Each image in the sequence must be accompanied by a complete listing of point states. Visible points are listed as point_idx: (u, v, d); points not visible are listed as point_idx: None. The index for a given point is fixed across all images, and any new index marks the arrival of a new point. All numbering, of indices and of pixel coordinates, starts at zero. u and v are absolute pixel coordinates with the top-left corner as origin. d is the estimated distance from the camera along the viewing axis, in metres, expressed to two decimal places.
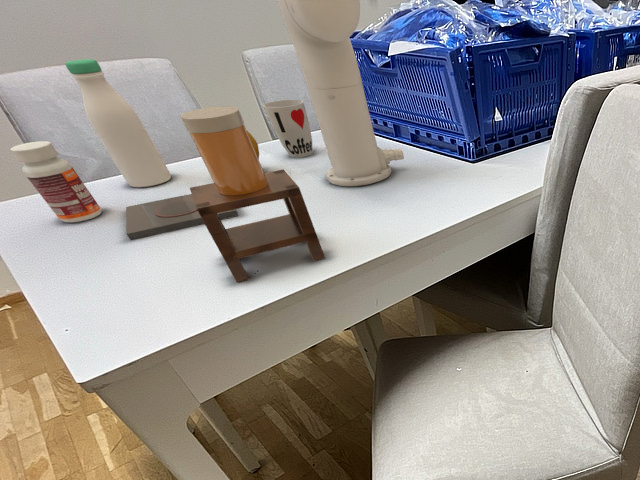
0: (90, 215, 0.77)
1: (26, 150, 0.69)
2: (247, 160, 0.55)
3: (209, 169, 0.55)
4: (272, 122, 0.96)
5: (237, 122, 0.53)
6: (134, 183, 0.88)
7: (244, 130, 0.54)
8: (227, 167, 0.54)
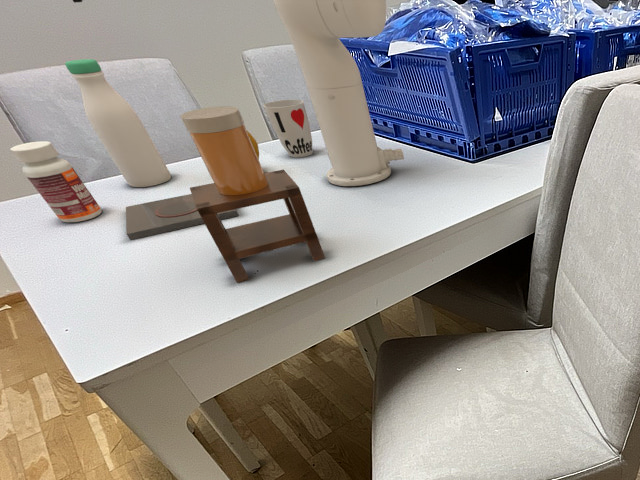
0: (90, 215, 0.77)
1: (26, 150, 0.69)
2: (247, 160, 0.55)
3: (209, 169, 0.55)
4: (272, 122, 0.96)
5: (237, 122, 0.53)
6: (134, 183, 0.88)
7: (244, 130, 0.54)
8: (227, 167, 0.54)
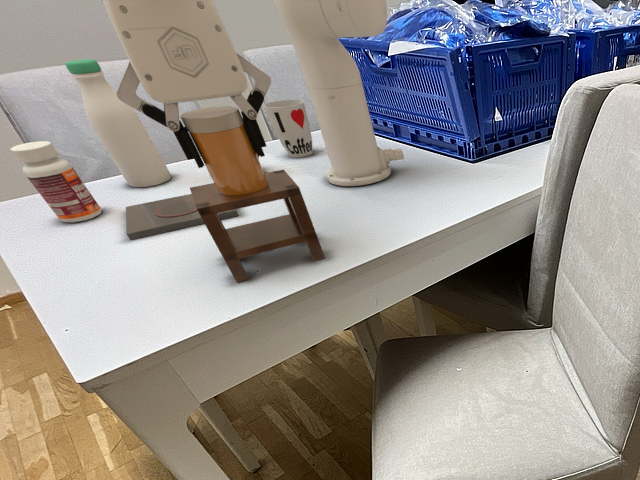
0: (90, 215, 0.77)
1: (26, 150, 0.69)
2: (247, 160, 0.55)
3: (209, 169, 0.55)
4: (272, 122, 0.96)
5: (237, 122, 0.53)
6: (134, 183, 0.88)
7: (244, 130, 0.54)
8: (227, 167, 0.54)
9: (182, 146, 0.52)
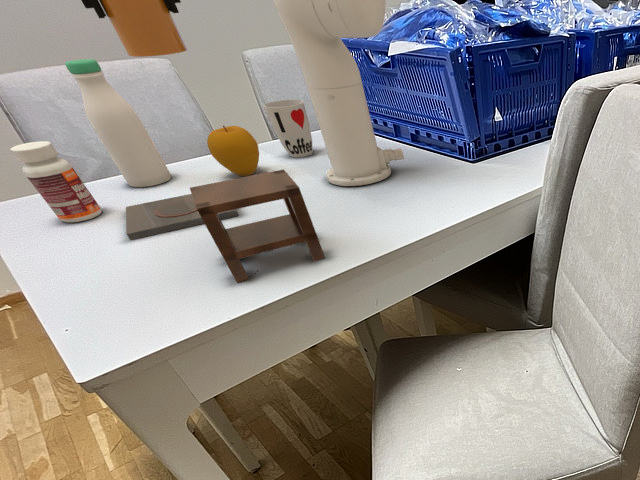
0: (90, 215, 0.77)
1: (26, 150, 0.69)
2: (157, 12, 0.49)
3: (112, 22, 0.48)
4: (272, 122, 0.96)
5: None
6: (134, 183, 0.88)
7: None
8: (132, 17, 0.48)
9: None
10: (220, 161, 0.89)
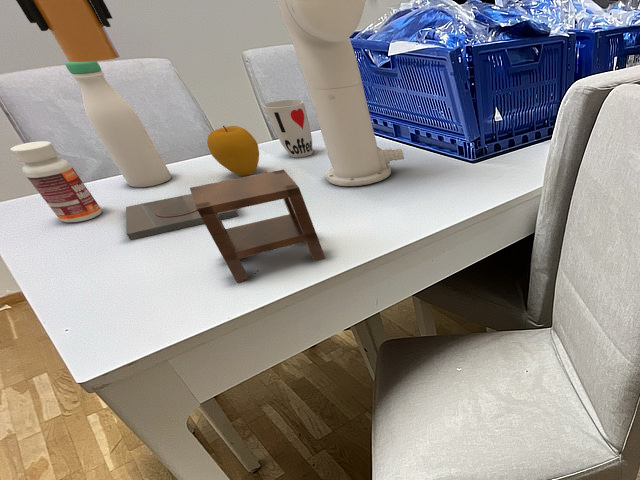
0: (90, 215, 0.77)
1: (26, 150, 0.69)
2: (90, 26, 0.60)
3: (53, 34, 0.59)
4: (272, 122, 0.96)
5: None
6: (134, 183, 0.88)
7: None
8: (68, 30, 0.59)
9: (22, 7, 0.57)
10: (220, 161, 0.89)
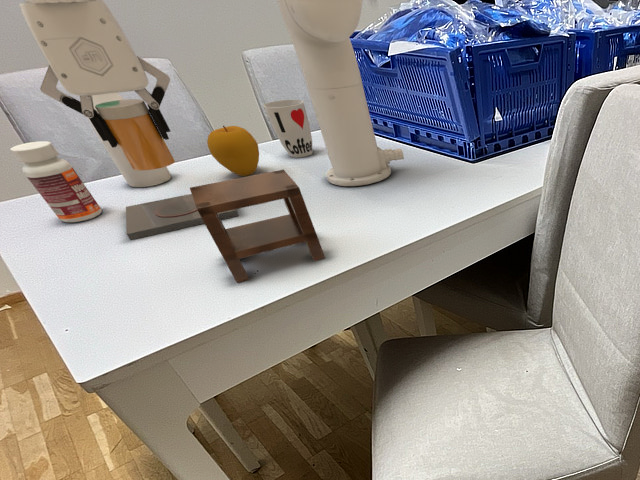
0: (90, 215, 0.77)
1: (26, 150, 0.69)
2: (152, 142, 0.69)
3: (121, 149, 0.69)
4: (272, 122, 0.96)
5: (141, 111, 0.67)
6: (134, 183, 0.88)
7: (149, 118, 0.69)
8: (135, 147, 0.68)
9: (97, 130, 0.67)
10: (220, 161, 0.89)
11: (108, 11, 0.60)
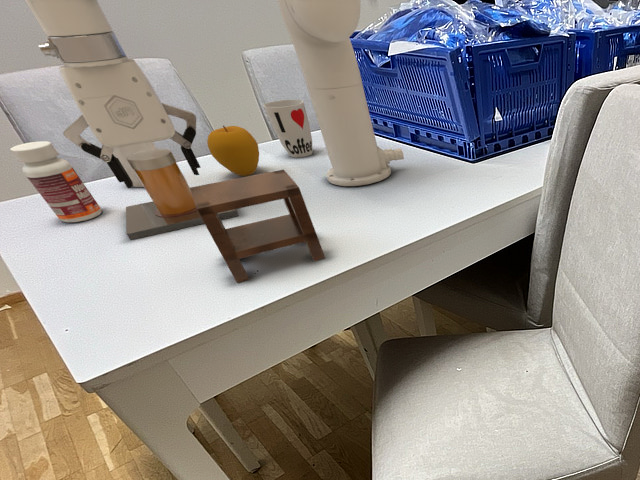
0: (90, 215, 0.77)
1: (26, 150, 0.69)
2: (179, 188, 0.74)
3: (150, 195, 0.74)
4: (272, 122, 0.96)
5: (169, 161, 0.72)
6: (134, 183, 0.88)
7: (175, 167, 0.73)
8: (163, 194, 0.73)
9: (114, 172, 0.70)
10: (220, 161, 0.89)
11: (139, 70, 0.65)
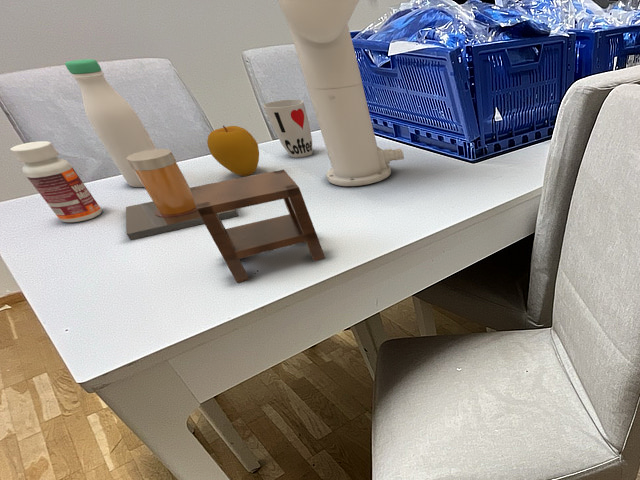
0: (90, 215, 0.77)
1: (26, 150, 0.69)
2: (179, 188, 0.74)
3: (150, 195, 0.74)
4: (272, 122, 0.96)
5: (169, 161, 0.72)
6: (134, 183, 0.88)
7: (175, 167, 0.73)
8: (163, 194, 0.73)
9: None
10: (220, 161, 0.89)
11: None
